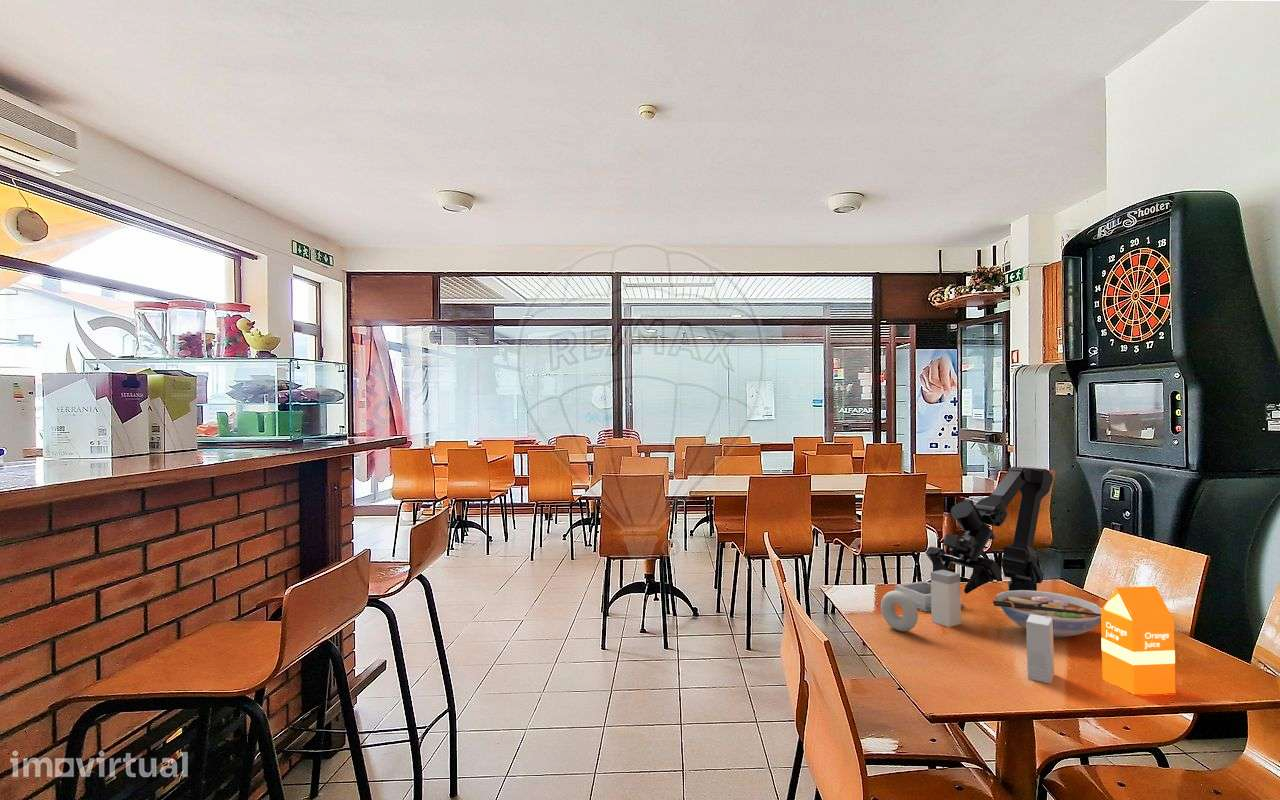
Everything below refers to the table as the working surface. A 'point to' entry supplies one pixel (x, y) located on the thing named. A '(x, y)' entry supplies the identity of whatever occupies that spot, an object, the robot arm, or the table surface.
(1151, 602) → the orange juice
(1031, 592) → the ramen bowl
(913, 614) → the donut
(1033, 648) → the skincare box
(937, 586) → the gray square block
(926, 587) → the metal collar
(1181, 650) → the table surface
